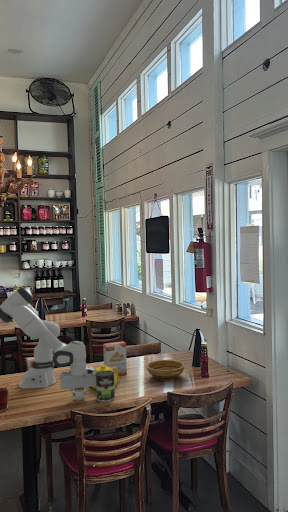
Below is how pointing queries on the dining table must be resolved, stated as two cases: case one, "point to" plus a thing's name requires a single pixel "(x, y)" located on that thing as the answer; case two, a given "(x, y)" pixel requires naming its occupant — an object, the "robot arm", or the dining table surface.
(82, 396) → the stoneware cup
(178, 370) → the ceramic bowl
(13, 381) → the dining table surface
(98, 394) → the coffee can
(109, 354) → the cracker box
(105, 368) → the teapot
